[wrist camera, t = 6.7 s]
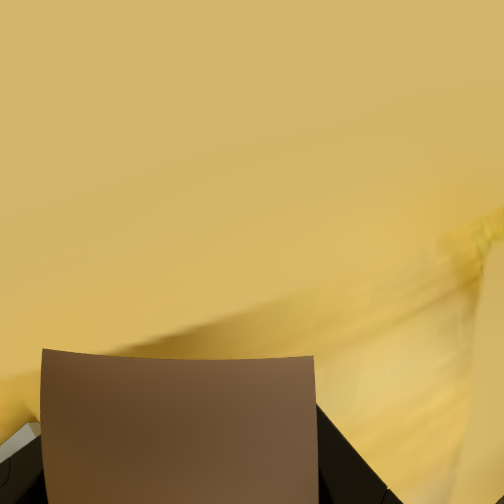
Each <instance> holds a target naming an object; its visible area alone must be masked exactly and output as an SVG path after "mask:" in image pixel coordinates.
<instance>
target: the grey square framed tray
mask: <svg viewBox="0 0 504 504" xmlns="http://www.w3.org/2000/svg"><path fill="white" fill-rule="evenodd" d="M40 434H41V425H40V424H39V422H28V423H26V424H25V425H24V426H23V427H22V428H21V429H19V430H18V431H17V432H16V433H15V434H14V435H13V436H11V437H10V438H9V439H8V440H7V441H6V442H5V443H3V444H2V445H1V446H0V463H1V462H2V461H4V460H5V459H7V458H8V457H11V455H12V454H14V453H15V452H17V451H18V450H19V449H21V448H22V447H23V446H25V445H26V444H28V443H29V442H30V441H32V440H33V439H34V438H36V437H37V436H39V435H40Z"/></svg>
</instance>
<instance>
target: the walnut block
mask: <svg viewBox="0 0 504 504" xmlns="http://www.w3.org/2000/svg"><path fill="white" fill-rule="evenodd" d="M40 421H41V443H42V457H43V467H44V476H45V484H46V491H47V498H48V504H318V442H317V414H316V393H315V375H314V359H313V356H303V357H288V358H270V359H242V360H176V359H149V358H131V357H116V356H104V355H93V354H83V353H74V352H65V351H57V350H50V349H43V350H42V364H41V387H40Z"/></svg>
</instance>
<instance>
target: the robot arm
mask: <svg viewBox="0 0 504 504" xmlns="http://www.w3.org/2000/svg"><path fill="white" fill-rule="evenodd" d="M316 414H317V442H318V504H403V503H402V502H401V501H400V500H399V499H398V497H397V496H396V495H395V494H394V493H393V492H392V491H391V490H390V489H387V488H388V487H387V485H386V484H385V483H384V482H383V481H382V480H381V479H380V478H379V476H378V475H377V474H376V473H375V472H374V471H373V470H372V468H371V467H370V466H369V465H368V464H367V463H366V462H365V460H364V459H363V458H362V457H361V456H360V455H359V454H358V452H357V451H356V450H355V449H354V448H353V447H352V445H351V444H350V443H349V442H348V441H347V439H346V438H345V437H344V436H343V435H342V434H341V432H340V431H339V430H338V429H337V428H336V426H335V425H334V424H333V423H332V422H331V420H330V419H329V418H328V417H327V416H326V414H325V413H324V412H323V411H322V410H321V408H320V407H319V406H318V405H317V403H316ZM0 504H48V498H47V491H46V484H45V476H44V467H43V457H42V443H41V434H40V435H39V436H37V437H36V438H34V439H33V440H32V441H30V442H29V443H28V444H26V445H25V446H23V447H22V448H21V449H19V450H18V451H17V452H15V453H14V454H12V455H11V457H8V458H7V459H5V460H4V461H2V462H1V463H0Z"/></svg>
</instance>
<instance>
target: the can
mask: <svg viewBox="0 0 504 504" xmlns="http://www.w3.org/2000/svg"><path fill="white" fill-rule="evenodd" d="M496 504H504V496H503V497H502V498H500V499H499V500H498V501H497V502H496Z"/></svg>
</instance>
